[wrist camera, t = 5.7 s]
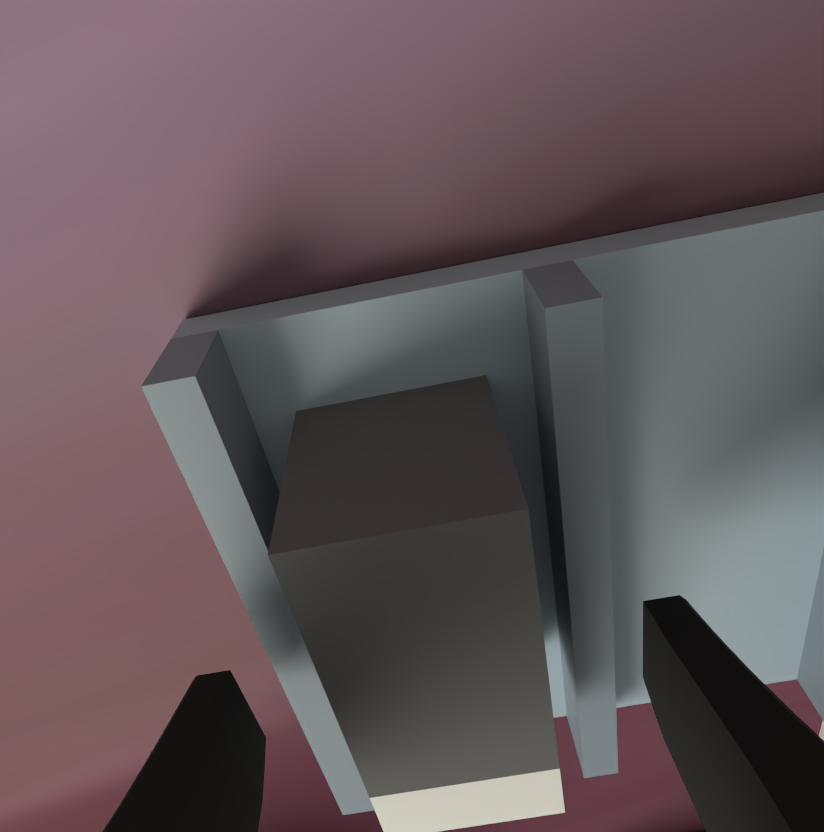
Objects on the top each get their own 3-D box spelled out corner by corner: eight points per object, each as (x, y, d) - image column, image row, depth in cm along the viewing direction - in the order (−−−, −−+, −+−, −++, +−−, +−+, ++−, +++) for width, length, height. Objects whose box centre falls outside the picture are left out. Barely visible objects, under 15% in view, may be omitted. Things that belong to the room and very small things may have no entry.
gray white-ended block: (295, 411, 11) (267, 555, 8) (486, 375, 11) (528, 509, 8) (384, 675, 15) (386, 839, 12) (526, 651, 15) (565, 812, 12)
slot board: (810, 647, 17) (871, 734, 15) (346, 722, 18) (343, 814, 16) (912, 174, 11) (1040, 212, 9) (183, 319, 11) (140, 386, 9)
